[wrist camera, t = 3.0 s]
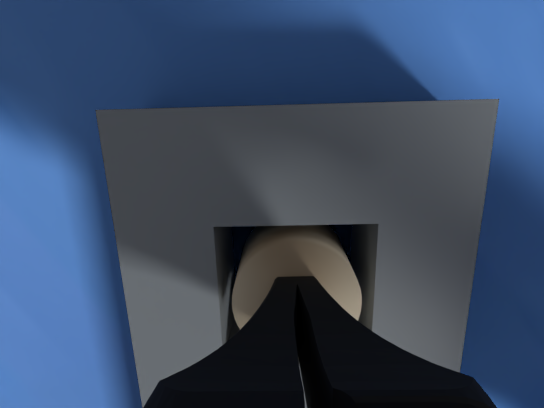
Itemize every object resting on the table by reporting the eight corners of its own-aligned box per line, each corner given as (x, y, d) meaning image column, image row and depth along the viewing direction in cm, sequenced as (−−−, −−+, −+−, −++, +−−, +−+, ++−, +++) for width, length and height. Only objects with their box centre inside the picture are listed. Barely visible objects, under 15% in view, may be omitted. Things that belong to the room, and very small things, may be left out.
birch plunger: (344, 210, 14) (364, 242, 11) (342, 304, 16) (359, 358, 12) (239, 212, 15) (228, 244, 11) (244, 305, 16) (235, 359, 12)
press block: (438, 100, 14) (499, 99, 10) (394, 548, 21) (420, 647, 17) (144, 108, 14) (95, 110, 10) (197, 547, 21) (179, 644, 18)
